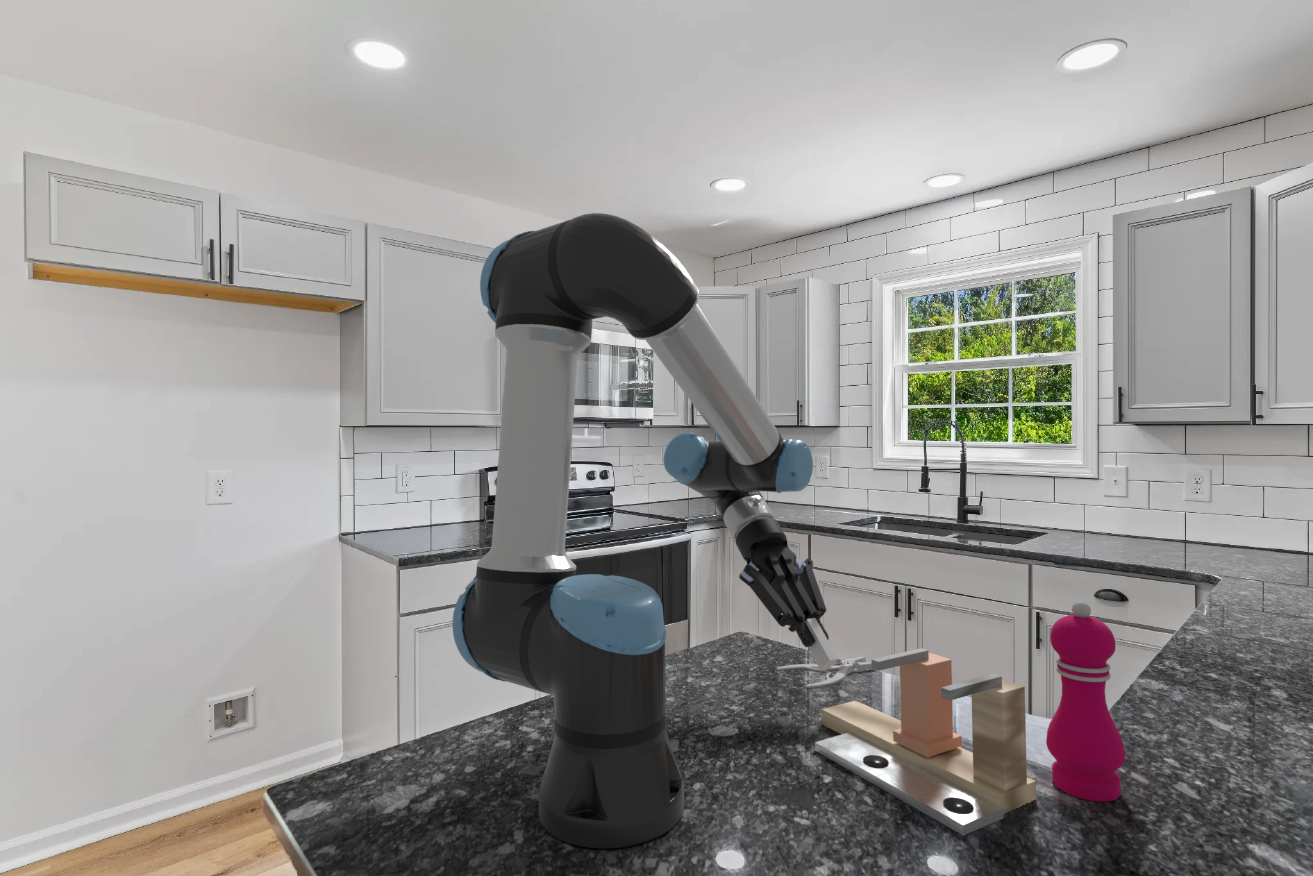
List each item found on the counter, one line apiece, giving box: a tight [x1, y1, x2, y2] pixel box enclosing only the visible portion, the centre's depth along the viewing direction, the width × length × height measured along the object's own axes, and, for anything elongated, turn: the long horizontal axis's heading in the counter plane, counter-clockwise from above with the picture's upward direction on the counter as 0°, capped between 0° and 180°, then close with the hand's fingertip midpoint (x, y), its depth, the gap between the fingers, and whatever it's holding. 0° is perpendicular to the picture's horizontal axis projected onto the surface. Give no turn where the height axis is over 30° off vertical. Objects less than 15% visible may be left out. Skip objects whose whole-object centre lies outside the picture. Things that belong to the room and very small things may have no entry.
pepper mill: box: [1045, 601, 1126, 803], centre depth 74 cm, size 7×7×20 cm
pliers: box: [776, 655, 876, 689], centre depth 112 cm, size 10×2×15 cm
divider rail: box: [821, 673, 1037, 815], centre depth 80 cm, size 11×26×13 cm, turn 28°
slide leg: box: [871, 647, 963, 757], centre depth 79 cm, size 11×5×11 cm, turn 118°
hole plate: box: [814, 732, 1005, 836], centre depth 76 cm, size 6×21×1 cm, turn 28°
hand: (829, 664), depth 94 cm, fingers closed
